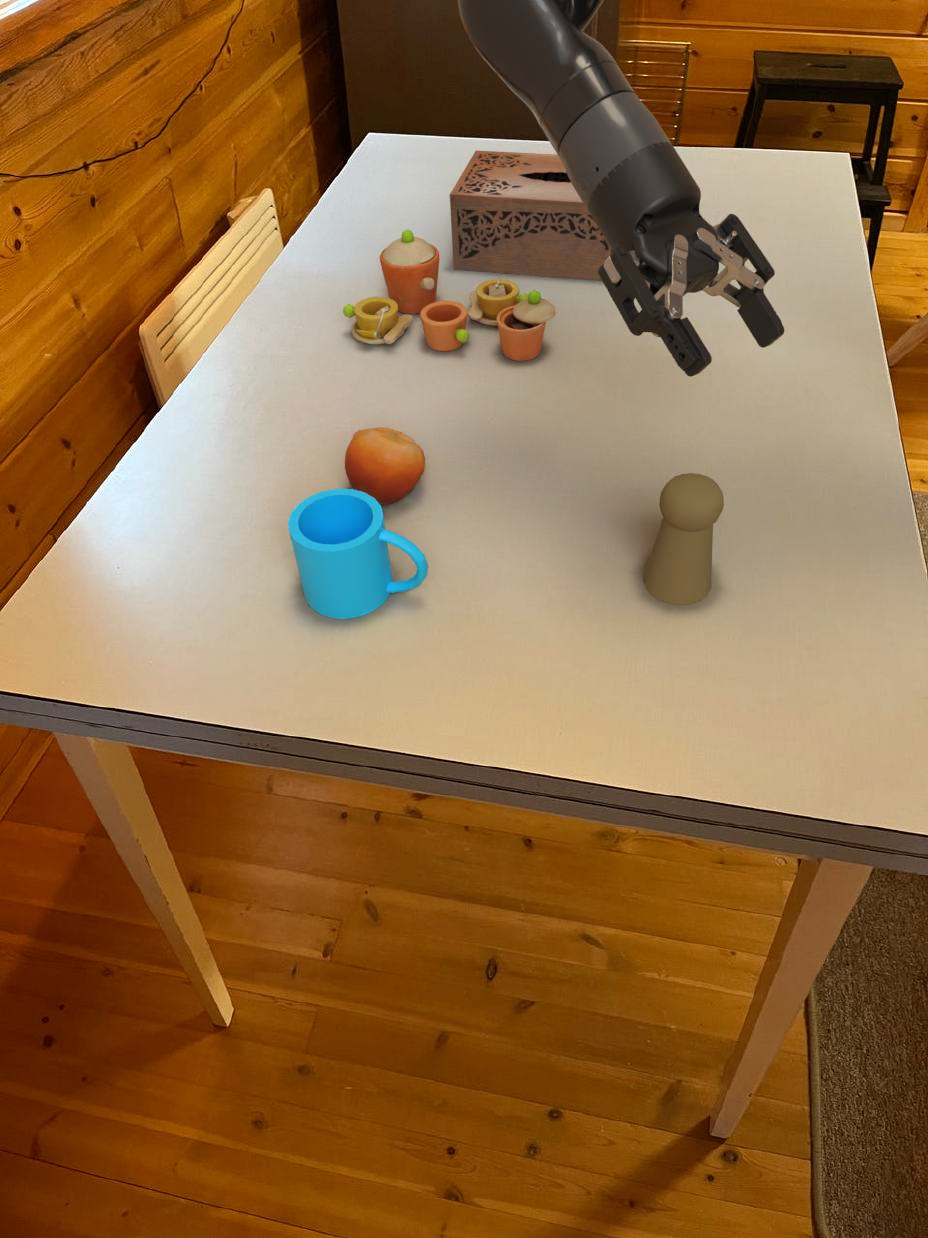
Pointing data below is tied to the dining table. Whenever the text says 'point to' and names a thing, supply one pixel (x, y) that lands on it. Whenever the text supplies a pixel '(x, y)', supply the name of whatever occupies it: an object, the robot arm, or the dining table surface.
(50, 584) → the dining table surface
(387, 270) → the toy tea set
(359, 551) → the mug
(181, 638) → the dining table surface
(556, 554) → the dining table surface
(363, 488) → the fruit
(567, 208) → the tissue box cover
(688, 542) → the cork
